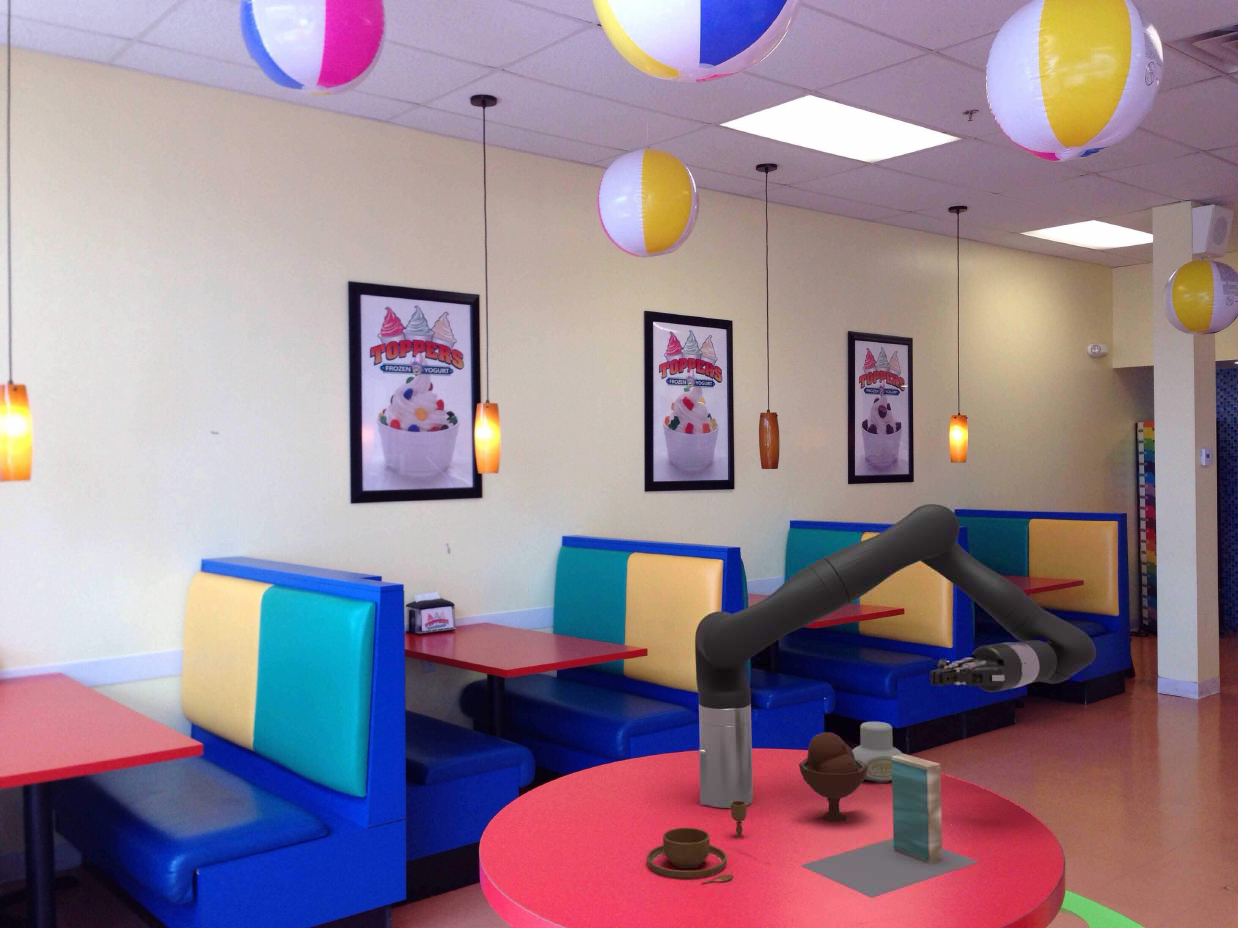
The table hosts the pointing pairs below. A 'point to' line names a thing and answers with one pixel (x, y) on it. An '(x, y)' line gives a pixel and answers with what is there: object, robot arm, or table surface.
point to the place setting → (694, 849)
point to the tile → (917, 807)
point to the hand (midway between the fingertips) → (934, 678)
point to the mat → (883, 868)
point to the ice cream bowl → (832, 772)
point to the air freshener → (876, 751)
